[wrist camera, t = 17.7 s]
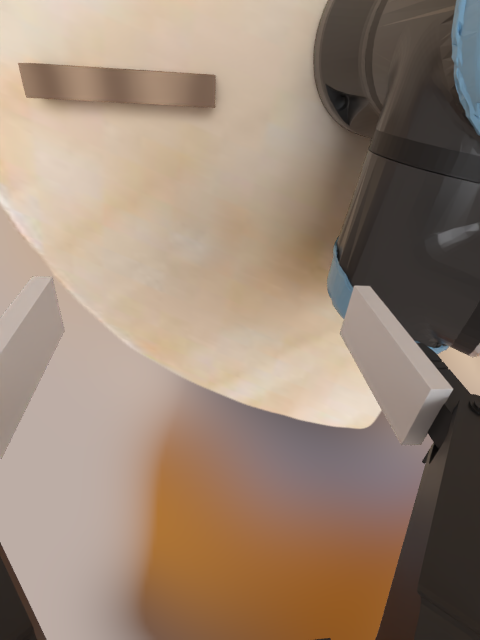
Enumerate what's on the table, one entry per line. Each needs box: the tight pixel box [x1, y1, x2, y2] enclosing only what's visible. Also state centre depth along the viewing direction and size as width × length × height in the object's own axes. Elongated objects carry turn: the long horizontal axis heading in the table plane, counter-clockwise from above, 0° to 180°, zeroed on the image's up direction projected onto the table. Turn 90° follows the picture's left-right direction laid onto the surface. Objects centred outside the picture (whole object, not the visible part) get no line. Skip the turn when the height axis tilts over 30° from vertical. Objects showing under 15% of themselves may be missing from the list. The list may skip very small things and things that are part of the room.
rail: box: [18, 63, 215, 108], centre depth 33 cm, size 16×2×5 cm, turn 87°
